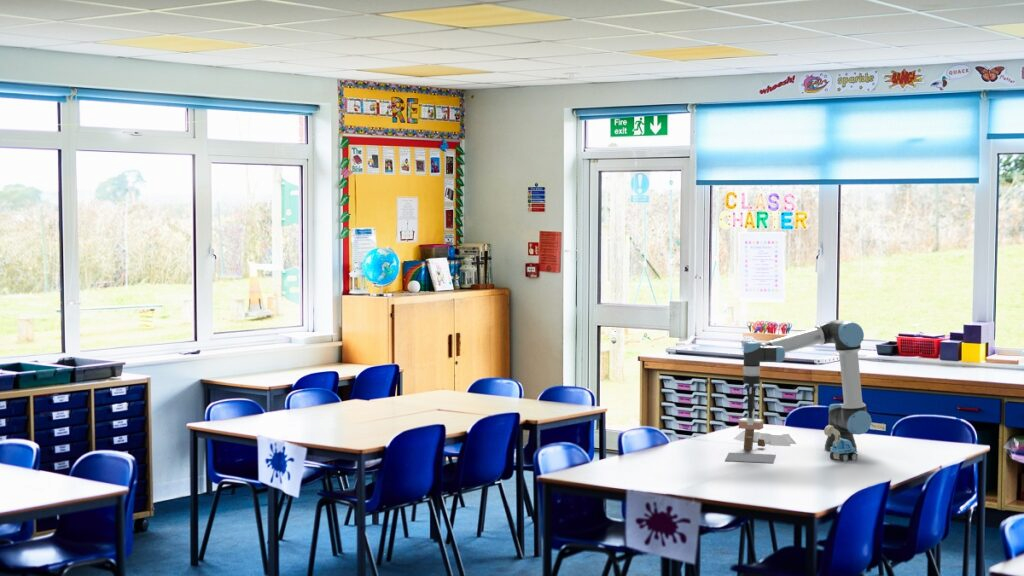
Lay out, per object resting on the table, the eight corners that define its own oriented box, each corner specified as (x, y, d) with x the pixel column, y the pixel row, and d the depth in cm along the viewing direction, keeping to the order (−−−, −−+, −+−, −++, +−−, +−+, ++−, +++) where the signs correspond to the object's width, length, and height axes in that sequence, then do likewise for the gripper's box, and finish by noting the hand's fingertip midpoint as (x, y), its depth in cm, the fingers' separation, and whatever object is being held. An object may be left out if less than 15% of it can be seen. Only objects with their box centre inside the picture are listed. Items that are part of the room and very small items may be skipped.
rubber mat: (775, 456, 583) (775, 454, 583) (773, 464, 562) (773, 462, 562) (728, 454, 589) (728, 452, 589) (724, 462, 567) (724, 460, 567)
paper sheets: (808, 444, 622) (808, 433, 622) (788, 449, 607) (788, 437, 607) (748, 436, 646) (748, 426, 645) (728, 440, 631) (728, 430, 631)
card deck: (742, 426, 580) (742, 418, 579) (763, 428, 575) (763, 419, 575) (738, 428, 574) (738, 419, 574) (759, 429, 570) (759, 421, 569)
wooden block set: (753, 454, 589) (755, 433, 588) (736, 451, 593) (738, 430, 593) (765, 449, 605) (767, 428, 604) (748, 446, 609) (750, 426, 608)
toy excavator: (818, 460, 572) (819, 424, 571) (845, 458, 579) (846, 422, 579) (831, 464, 564) (831, 426, 563) (858, 461, 572) (859, 424, 571)
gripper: (744, 372, 584) (744, 420, 585) (741, 377, 565) (741, 426, 566) (760, 373, 582) (760, 421, 583) (758, 377, 563) (757, 427, 564)
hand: (750, 423), depth 575 cm, fingers closed on card deck, 7 cm apart
